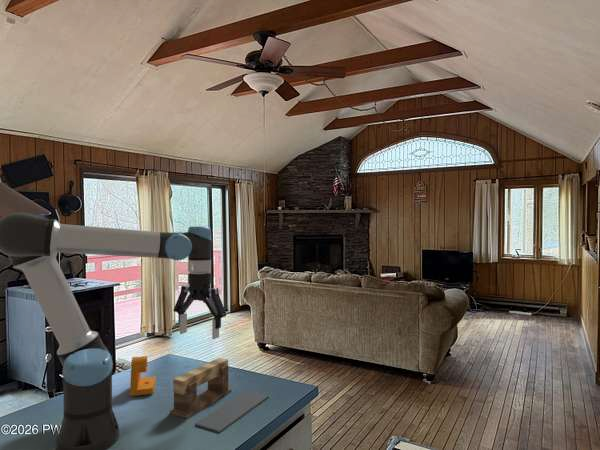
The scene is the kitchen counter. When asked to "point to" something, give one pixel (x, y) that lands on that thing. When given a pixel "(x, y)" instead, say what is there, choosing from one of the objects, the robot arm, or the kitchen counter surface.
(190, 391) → the bracket
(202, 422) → the mat
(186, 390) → the rail
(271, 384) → the kitchen counter surface
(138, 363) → the orange hinge mount
